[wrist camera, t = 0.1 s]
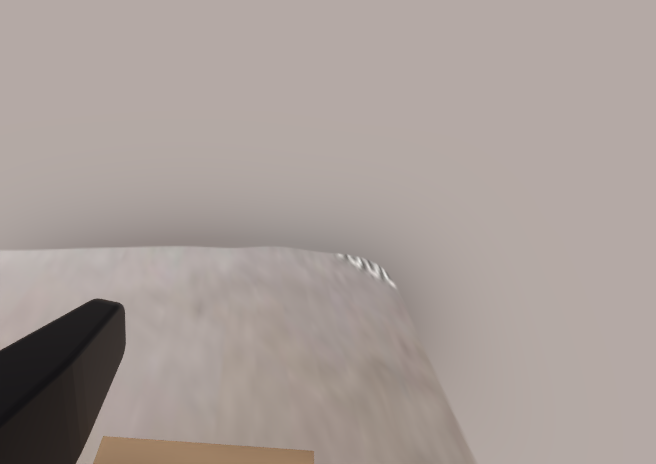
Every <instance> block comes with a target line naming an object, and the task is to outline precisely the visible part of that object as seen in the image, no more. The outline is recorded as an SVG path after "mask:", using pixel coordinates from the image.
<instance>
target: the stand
mask: <svg viewBox="0 0 656 464" xmlns="http://www.w3.org/2000/svg"><path fill="white" fill-rule="evenodd" d="M93 464H314V451H307V450H293V449H278V448H264V447H250V446H235V445H221V444H207V443H192V442H178V441H164V440H150V439H135V438H121V437H107V436H103V438H102V441H101V444H100V446H99V449H98V452H97V455H96V457H95V460H94V463H93Z"/></svg>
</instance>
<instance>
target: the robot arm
mask: <svg viewBox="0 0 656 464" xmlns="http://www.w3.org/2000/svg"><path fill="white" fill-rule="evenodd" d="M125 345H126V334H125V310H124V307H123V305H122V304H120V303H118V302H113V301H108V300H104V299H93V300H91V301H89V302H87V303H85V304H83V305H81V306H80V307H78V308H76V309H74V310H72V311H71V312H69V313H67V314H65V315H63V316H62V317H60V318H58V319H56V320H54V321H53V322H51V323H49V324H47V325H45V326H43V327H42V328H40V329H38V330H36V331H34V332H33V333H31V334H29V335H27V336H25V337H24V338H22V339H20V340H18V341H16V342H15V343H13V344H11V345H9V346H7V347H6V348H4V349H2V350H0V464H76V462H77V460H78V458H79V456H80V454H81V453H82V450H83V448H84V446H85V444H86V442H87V439H88V437H89V435H90V433H91V430H92V428H93V426H94V423H95V421H96V418H97V416H98V414H99V411H100V409H101V407H102V404H103V402H104V400H105V397H106V395H107V393H108V390H109V388H110V386H111V383H112V381H113V379H114V376H115V374H116V372H117V369H118V367H119V365H120V362H121V360H122V358H123V354H124V351H125Z"/></svg>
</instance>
